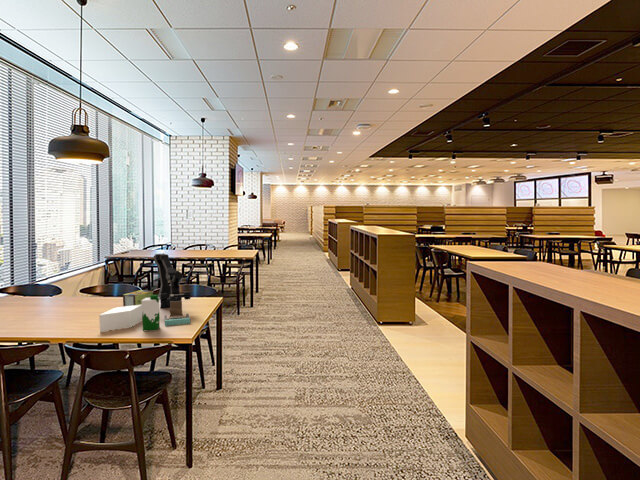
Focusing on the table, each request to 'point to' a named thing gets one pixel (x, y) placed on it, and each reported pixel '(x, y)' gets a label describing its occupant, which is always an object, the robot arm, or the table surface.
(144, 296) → the protein box
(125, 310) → the white block
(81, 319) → the table surface
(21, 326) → the table surface
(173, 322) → the bay
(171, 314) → the wooden drawer
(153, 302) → the milk carton
